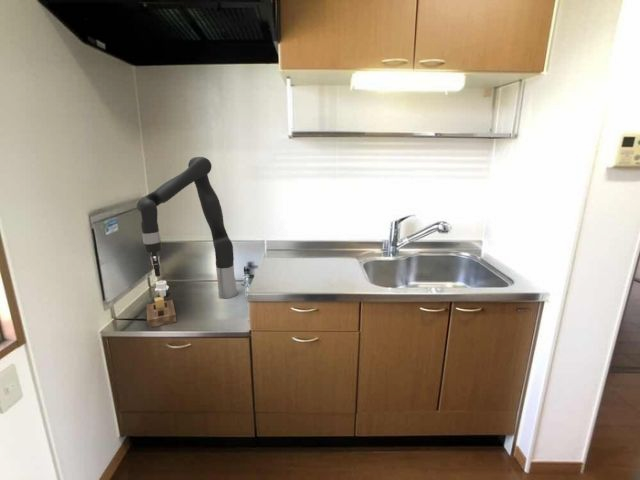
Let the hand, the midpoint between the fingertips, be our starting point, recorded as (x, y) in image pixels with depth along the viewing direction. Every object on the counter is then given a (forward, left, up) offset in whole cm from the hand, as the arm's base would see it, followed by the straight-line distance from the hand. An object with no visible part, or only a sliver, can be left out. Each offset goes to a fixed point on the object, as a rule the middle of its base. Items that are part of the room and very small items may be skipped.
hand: (157, 273), depth 169 cm
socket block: (+1, +5, -21) cm, 21 cm away
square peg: (+1, +1, -21) cm, 21 cm away
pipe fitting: (-1, -21, -21) cm, 30 cm away
